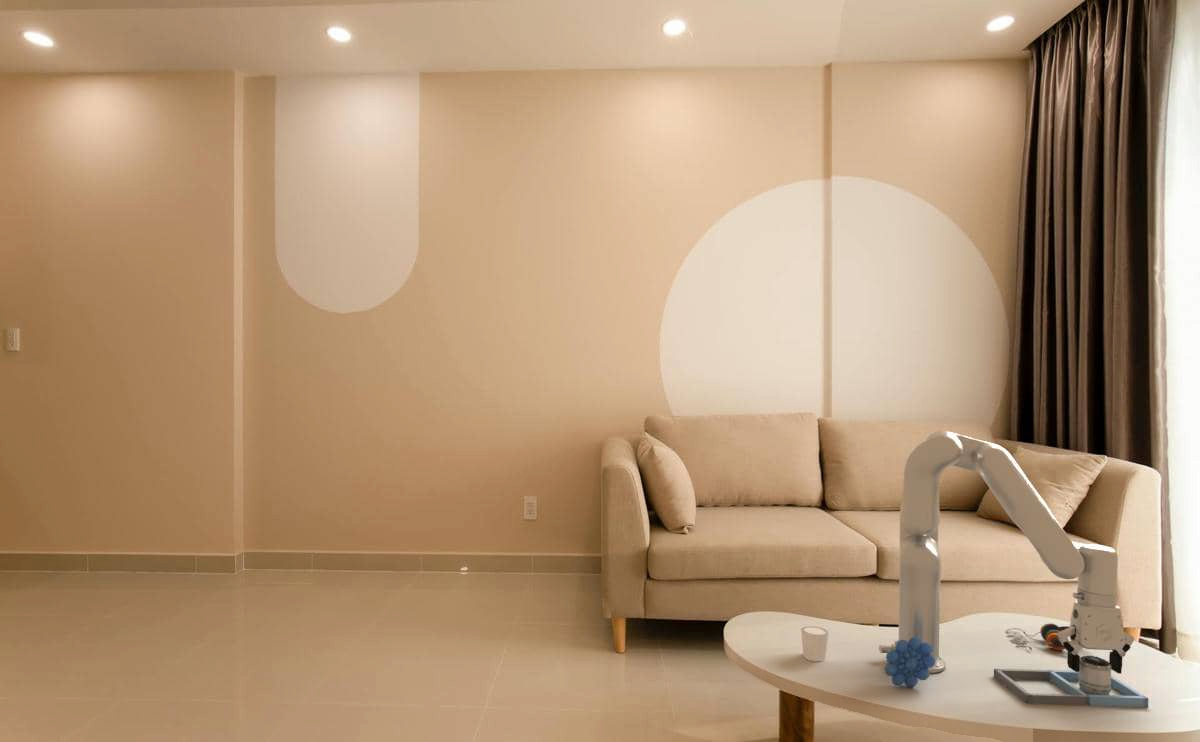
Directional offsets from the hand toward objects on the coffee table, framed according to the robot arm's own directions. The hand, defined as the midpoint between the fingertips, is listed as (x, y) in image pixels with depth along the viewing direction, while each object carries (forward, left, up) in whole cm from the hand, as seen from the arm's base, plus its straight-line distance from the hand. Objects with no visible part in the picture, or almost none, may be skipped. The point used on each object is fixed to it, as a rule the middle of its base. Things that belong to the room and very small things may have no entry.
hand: (1094, 670), depth 165 cm
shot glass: (-61, +16, -5) cm, 64 cm away
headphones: (+7, +28, -5) cm, 30 cm away
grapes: (-43, +1, -5) cm, 44 cm away
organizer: (-6, 0, -5) cm, 8 cm away
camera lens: (0, 0, -5) cm, 5 cm away
